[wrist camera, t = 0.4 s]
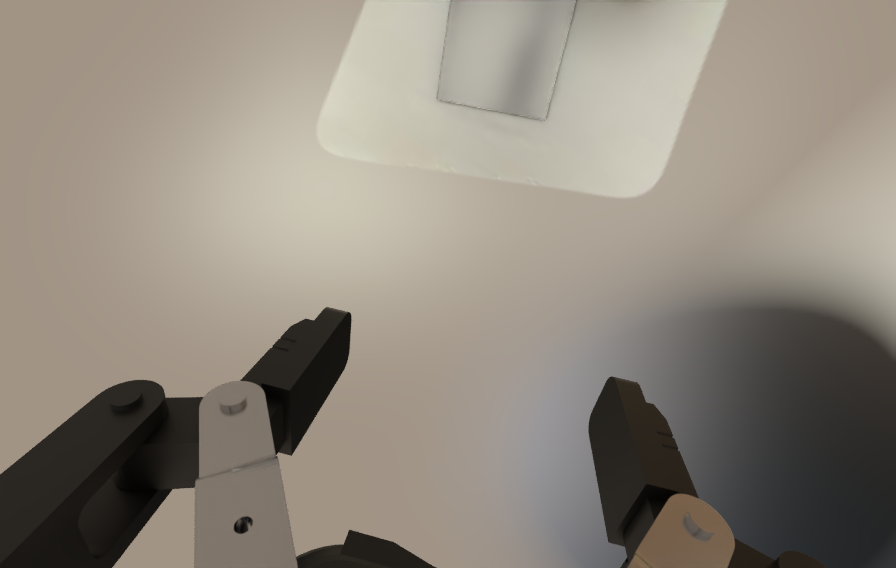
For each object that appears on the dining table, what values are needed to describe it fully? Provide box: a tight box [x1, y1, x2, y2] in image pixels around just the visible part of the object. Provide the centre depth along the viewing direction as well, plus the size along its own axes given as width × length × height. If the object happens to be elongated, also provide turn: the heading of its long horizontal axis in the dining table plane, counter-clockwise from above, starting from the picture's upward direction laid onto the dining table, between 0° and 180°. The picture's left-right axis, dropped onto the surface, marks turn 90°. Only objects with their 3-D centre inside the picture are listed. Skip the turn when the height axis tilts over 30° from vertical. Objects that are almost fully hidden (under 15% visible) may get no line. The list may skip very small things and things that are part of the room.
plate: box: [437, 0, 577, 121], centre depth 31 cm, size 9×9×1 cm
